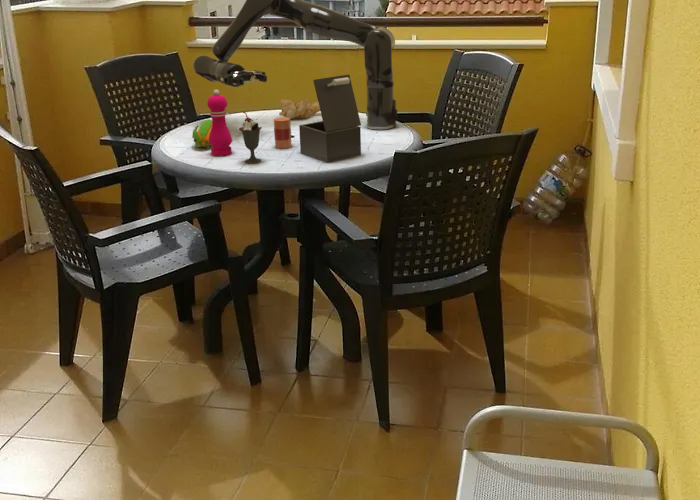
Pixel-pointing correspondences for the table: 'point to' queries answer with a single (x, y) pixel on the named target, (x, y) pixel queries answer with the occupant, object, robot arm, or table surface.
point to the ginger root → (298, 109)
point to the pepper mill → (219, 126)
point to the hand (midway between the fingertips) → (254, 80)
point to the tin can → (282, 132)
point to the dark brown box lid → (337, 102)
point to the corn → (202, 134)
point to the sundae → (251, 137)
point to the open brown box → (329, 142)
